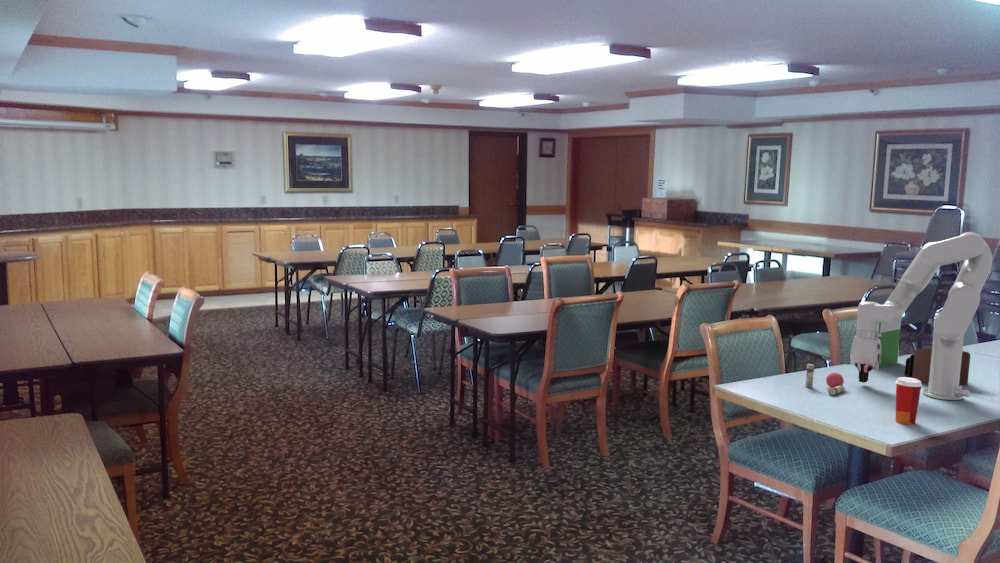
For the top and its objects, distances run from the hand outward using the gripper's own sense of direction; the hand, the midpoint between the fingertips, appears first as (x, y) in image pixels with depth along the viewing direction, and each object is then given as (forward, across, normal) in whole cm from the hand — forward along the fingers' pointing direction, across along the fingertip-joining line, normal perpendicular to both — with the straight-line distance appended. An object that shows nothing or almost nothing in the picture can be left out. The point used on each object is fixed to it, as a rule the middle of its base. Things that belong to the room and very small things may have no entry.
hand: (863, 381), depth 293 cm
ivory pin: (0, 0, +15) cm, 15 cm away
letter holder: (+2, -12, -32) cm, 34 cm away
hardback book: (+2, +16, -42) cm, 45 cm away
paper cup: (+2, -32, +33) cm, 46 cm away
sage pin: (+2, +10, +20) cm, 22 cm away
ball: (-2, +4, +14) cm, 14 cm away
